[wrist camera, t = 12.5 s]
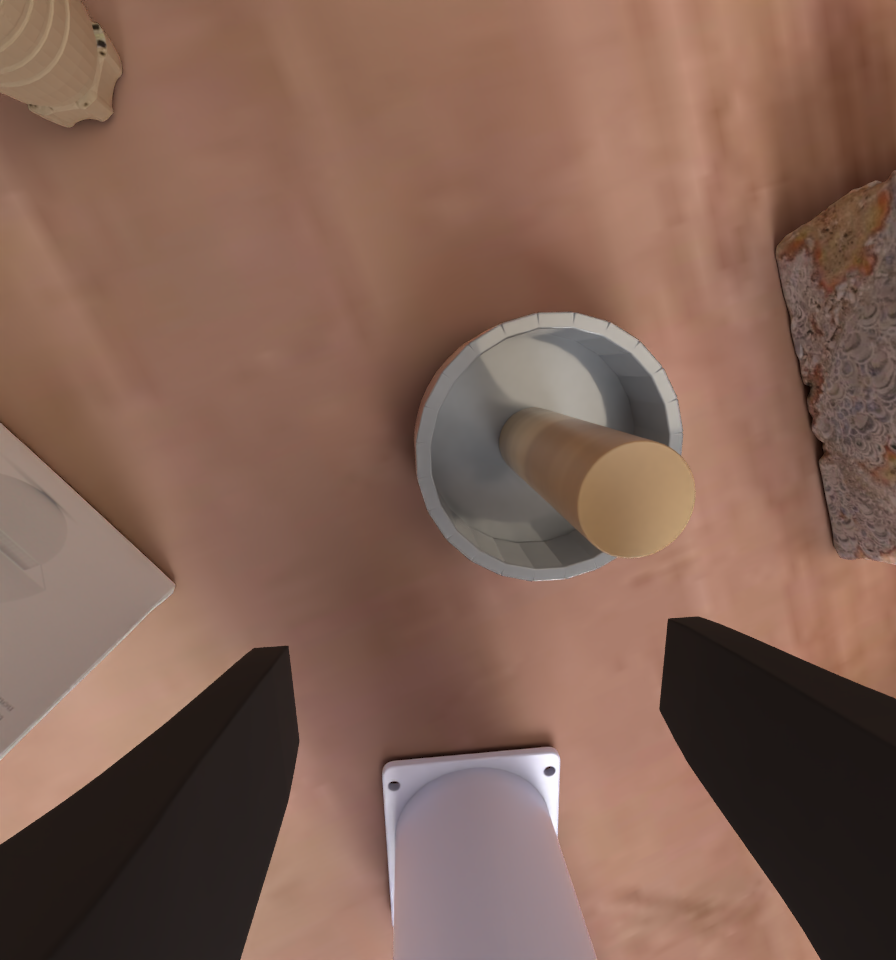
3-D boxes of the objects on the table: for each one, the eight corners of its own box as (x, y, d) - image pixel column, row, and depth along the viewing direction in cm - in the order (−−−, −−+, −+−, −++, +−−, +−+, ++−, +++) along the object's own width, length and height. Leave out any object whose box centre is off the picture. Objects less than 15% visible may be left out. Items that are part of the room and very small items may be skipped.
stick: (578, 434, 18) (720, 487, 10) (537, 487, 19) (642, 580, 11) (527, 393, 18) (632, 414, 10) (485, 449, 18) (552, 515, 10)
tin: (632, 543, 20) (671, 573, 17) (418, 556, 19) (421, 589, 16) (648, 319, 18) (695, 309, 15) (409, 323, 17) (410, 313, 14)
